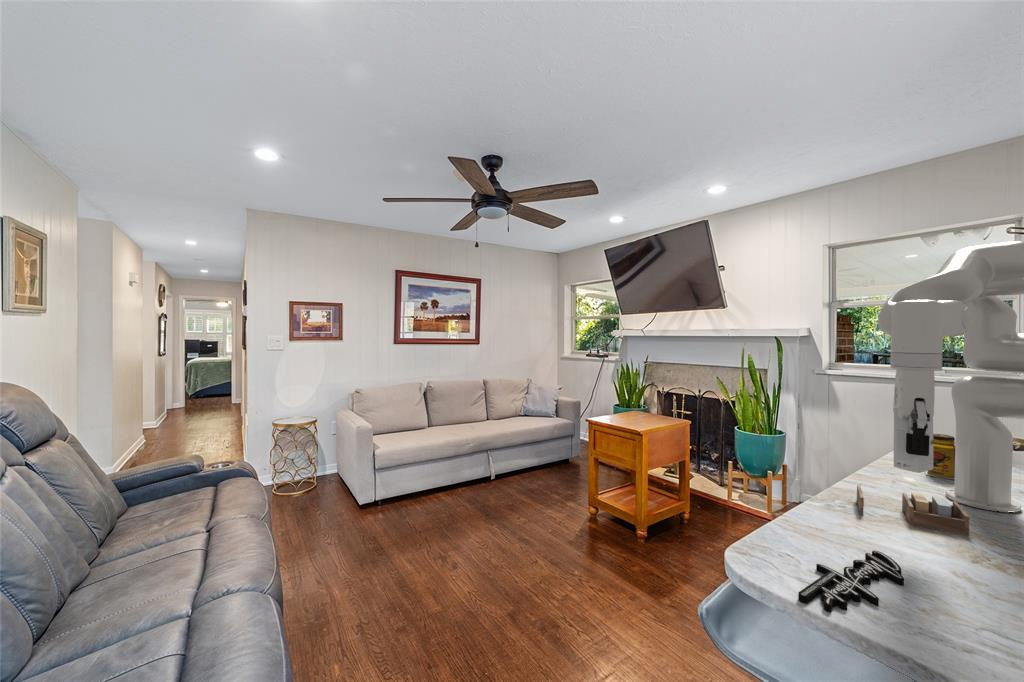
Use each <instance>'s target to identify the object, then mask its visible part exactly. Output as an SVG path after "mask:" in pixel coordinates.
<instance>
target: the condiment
mask: <svg viewBox="0 0 1024 682" xmlns="http://www.w3.org/2000/svg"><path fill="white" fill-rule="evenodd" d="M955 443H956V437H954V436H952V435H948V434H943V433H933V469H932V470H929V471H925V472H924V474H925V476H930V477H935V478H941V479H949V480H955Z"/></svg>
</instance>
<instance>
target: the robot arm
mask: <svg viewBox="0 0 1024 682" xmlns="http://www.w3.org/2000/svg"><path fill="white" fill-rule="evenodd" d="M1016 295H1017V296H1018V295H1024V240H1017V241H1016V240H1015V241H1007V242H999V243H990V244H981V245H975V246H968V247H965V248H964V247H963V248H961V249H958V250H957V251H954V252H953V253H952V254H951V255H950V256H949V257H948V258H947V259H946V261H945V262H944V263H943V264H942V266H941V267H940V268H939V270H938V271H937V272H936V273H935V274H934V275H933V276H930V277H927V278H925V279H922V280H919V281H917V282H914V283H912V284H909V285H906V286H904V287H902V288H900V289H898V290H897V291H895V292H894V293H892V295H890V296H889V298H888V299H887V300H886V301H885V302H884V304H883V306H881V307H882V308H881V309H880V311H879V313H878V315H877V317H878V318H877V324H878V327H879V329H880V331H881V333H884V334H885V335H887V336H890V366H889V367H890V369H894V370H896V371H895V377H894V387H893V388H894V390H893V391H894V393H893V404H892V406H893V407H892V412H893V413H894V408H897V416H898V417H899V418H900V419H904V417H908V432H909V433H906V452H907V453H908V454H913V455H921V456H929V438H930V436H929V427H928V421H931V420H933V421H934V414H935V383H936V382H935V381H936V380H935V372H938V371H941V372H942V371H943V356H944V355H943V354H944V353H943V352H944V349H943V348H944V338H954V337H959V336H962V335H964V337H963V353H962V354H963V356H962V357H963V363H964V365H965V366H966V367H968V368H969V369H971V370H976V371H984V372H992V373H993V372H995V373H996V372H997V373H1012V374H1024V333H1018V332H1017V319H1018V317H1017V316H1018V315H1017V313H1016V310H1015V309H1014V308H1013V307H1011V306H1010V305H1009V303H1007V302H1005V301H1004V300H1002V299H1001V298H1000V297H998V296H1016ZM951 399H952V404H953V408H954V414H955V415H954V416H955V444H954V445H955V479H954V487H953V488H949V489H947V490H945V496H946V497H947V498H949V499H950V500H952V502H953V501H956V502H957V503H958V504H962V505H964V506H969V507H972V508H976V509H981V510H986V511H990V510H991V511H992V512H997V511H999V513H1009V512H1008V511H1018V510H1021V511H1022V506H1021V504H1020V503H1018V502H1017V501H1015V500H1012V488H1013V487H1012V484H1013V483H1012V480H1013V453H1014V452H1013V450H1014V449H1013V447H1014V438H1013V435H1012V433H1011V431H1010V429H1009V428H1008V427H1007V426H1006V425H1005V424H1004V423H1003V422H1002V421H1001V420H1000V419H999V418H1009V419H1016V420H1024V379H1023V378H1009V377H1008V378H1007V377H999V376H997V377H996V376H985V375H983V376H982V375H979V376H978V375H973V376H964V377H961V378H959V379H957V380H955V381H954V383H953V384H952V386H951ZM927 413H928V415H929V416H928V415H927ZM915 415H916V418H912V417H911V416H915ZM913 422H914V423H913Z"/></svg>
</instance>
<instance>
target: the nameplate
mask: <svg viewBox="0 0 1024 682" xmlns="http://www.w3.org/2000/svg"><path fill="white" fill-rule="evenodd" d="M864 555H865V556H864V557H865V559H863V560H862V559H854V560H853V561H852V566H844V567H843V573H840V572H838V571H837V570H834V569H833V568H830V567H828V566H825V565H824V564H820V563H816V564H815V566H816V569H815V571H816V570H817V571H816V572H818V573H820V574H823V575H822V576H820V577H819V578H818V579H816V580H814V581H813V582H812V583H810V584H808V585H807V586H806V587H804V588H803V589H801V590H800V591H798V593H797V594H798V596H797V597H798V599H797V600H798V602H800V603H802V604H805V605H807V604H809V603H810V602H812V601H813V600H815V599H816V598H818V596H821V601H822V603H823V610H824V611H825V612H827V613H832V610H833V608H836V607H838V609H839V610H842V611H848V603H849V602H850V601H852V602H854V603H856V604H860V603H861V602H862V599H863V600H864V601H866V602H867V603H869V604H871V605H872V604H873V605H872V606H874V605H875V606H874V607H879V603H880V601H879V600H880V598H879V597H878V596H877V595H876V594H874V593H873V592H872V591H870V590H869V589H868V588H867V587H866V586H865V585H867V586H871V585H872V581H875V582H880V579H882V580H885V579H887V580H889V581H890V582H892V583H894V584H896V585H898V586H901V587H904V586H905V577H904V576H903V575H902V567H901V566H900V565H899V564H898V563H897V562H896V561H895V560H894V559H892V558H891V557H890V556H889V555H887V554H885V553H883V552H881V551H878V550H872V551H871V553H869V552H866V553H865V554H864Z"/></svg>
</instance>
